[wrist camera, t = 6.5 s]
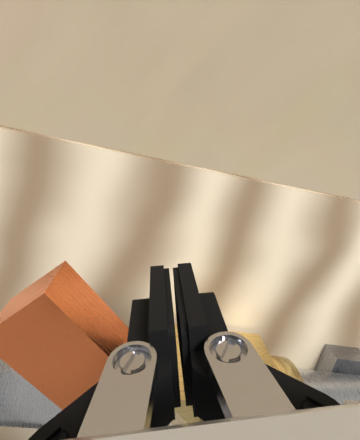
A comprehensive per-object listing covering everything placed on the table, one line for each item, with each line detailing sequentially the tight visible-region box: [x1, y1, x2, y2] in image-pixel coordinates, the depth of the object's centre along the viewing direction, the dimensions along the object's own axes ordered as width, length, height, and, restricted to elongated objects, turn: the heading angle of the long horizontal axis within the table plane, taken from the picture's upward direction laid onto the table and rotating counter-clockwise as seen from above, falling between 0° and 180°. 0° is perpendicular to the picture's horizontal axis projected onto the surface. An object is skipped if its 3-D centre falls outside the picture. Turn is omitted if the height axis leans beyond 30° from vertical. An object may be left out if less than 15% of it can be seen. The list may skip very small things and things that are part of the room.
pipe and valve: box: [0, 325, 360, 429], centre depth 18 cm, size 30×6×8 cm, turn 78°
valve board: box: [0, 126, 360, 440], centre depth 23 cm, size 34×26×2 cm
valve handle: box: [0, 261, 186, 426], centre depth 12 cm, size 3×15×2 cm, turn 35°
